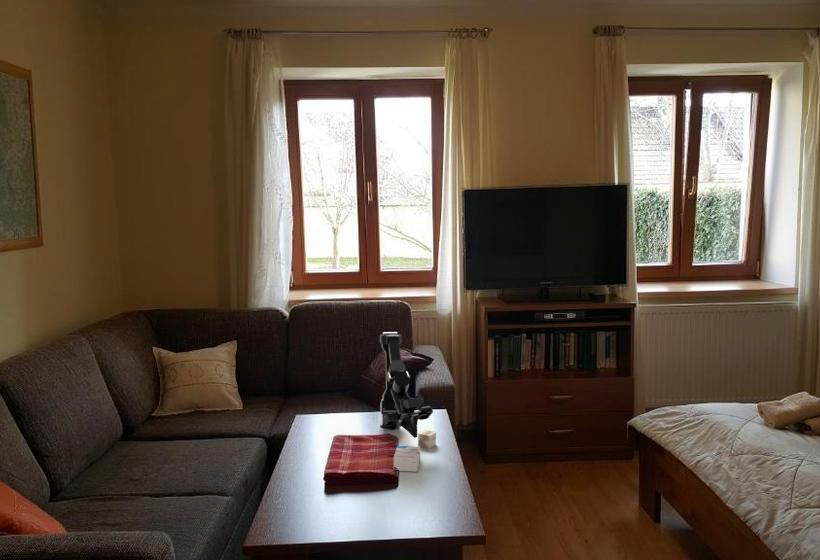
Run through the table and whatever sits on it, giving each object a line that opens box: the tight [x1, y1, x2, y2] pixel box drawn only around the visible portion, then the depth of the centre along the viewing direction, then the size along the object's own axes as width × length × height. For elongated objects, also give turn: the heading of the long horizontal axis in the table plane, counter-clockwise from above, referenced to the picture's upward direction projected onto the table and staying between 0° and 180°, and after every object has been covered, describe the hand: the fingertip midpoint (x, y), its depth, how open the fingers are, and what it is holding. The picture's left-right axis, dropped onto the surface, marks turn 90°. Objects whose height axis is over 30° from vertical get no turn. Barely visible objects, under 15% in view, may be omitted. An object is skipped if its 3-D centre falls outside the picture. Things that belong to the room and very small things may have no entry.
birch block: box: [417, 429, 437, 449], centre depth 241 cm, size 5×5×5 cm
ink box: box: [392, 445, 422, 473], centre depth 222 cm, size 9×5×12 cm
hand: (415, 437), depth 226 cm, fingers closed
